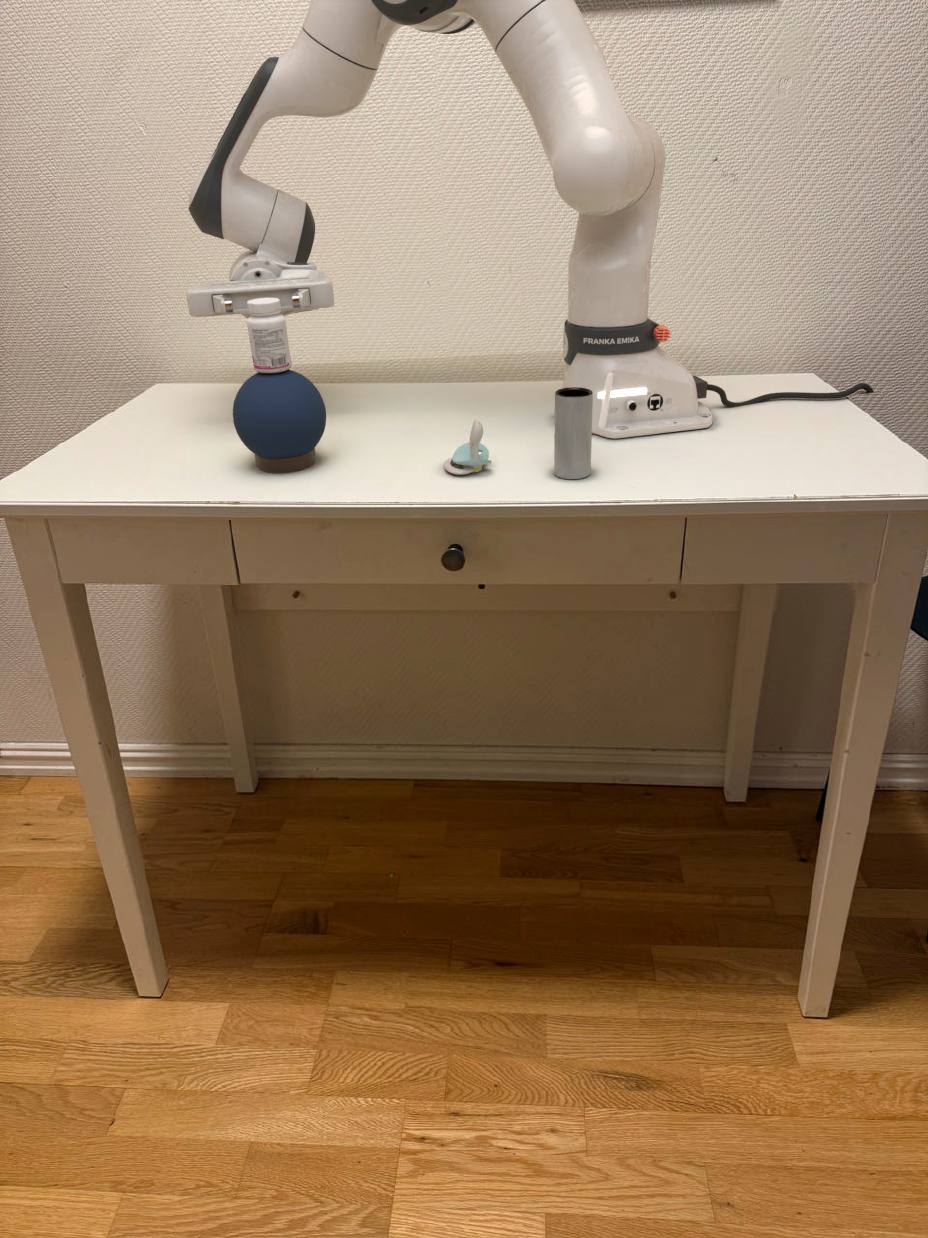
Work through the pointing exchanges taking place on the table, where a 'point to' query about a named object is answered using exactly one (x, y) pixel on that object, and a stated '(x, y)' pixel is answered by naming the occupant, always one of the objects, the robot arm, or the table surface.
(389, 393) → the table surface
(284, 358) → the pill bottle
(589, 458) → the grey cylinder
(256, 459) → the ball stand
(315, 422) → the ball
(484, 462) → the pacifier
